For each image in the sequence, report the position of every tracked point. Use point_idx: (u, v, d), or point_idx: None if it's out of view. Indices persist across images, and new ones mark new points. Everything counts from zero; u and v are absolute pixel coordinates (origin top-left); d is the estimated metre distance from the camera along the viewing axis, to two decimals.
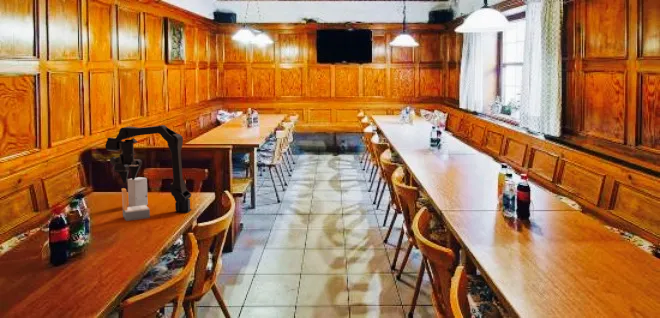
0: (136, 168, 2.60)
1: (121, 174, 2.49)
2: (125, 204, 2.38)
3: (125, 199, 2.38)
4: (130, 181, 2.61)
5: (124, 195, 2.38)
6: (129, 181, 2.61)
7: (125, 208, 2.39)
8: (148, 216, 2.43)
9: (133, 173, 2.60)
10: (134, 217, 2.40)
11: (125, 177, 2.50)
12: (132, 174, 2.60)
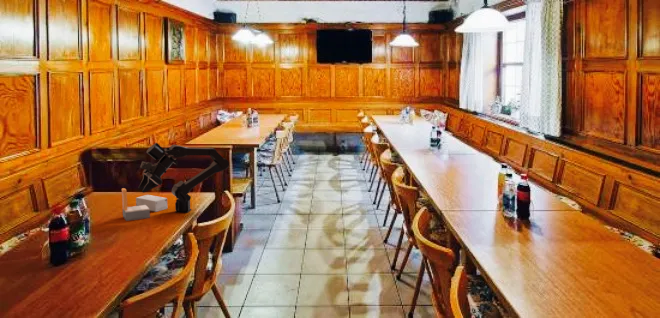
0: None
1: (148, 183, 2.39)
2: (125, 204, 2.38)
3: (125, 199, 2.38)
4: (153, 205, 2.54)
5: (124, 195, 2.38)
6: (153, 204, 2.54)
7: (125, 208, 2.39)
8: (148, 216, 2.43)
9: (143, 183, 2.48)
10: (134, 217, 2.40)
11: (149, 188, 2.40)
12: (142, 183, 2.48)
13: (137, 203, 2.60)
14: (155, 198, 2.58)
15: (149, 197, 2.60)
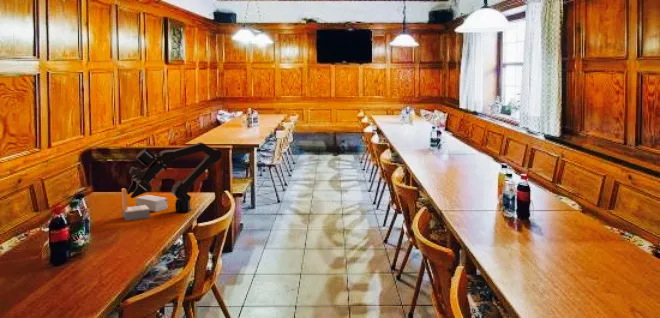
0: None
1: (137, 189, 2.37)
2: (125, 204, 2.38)
3: (125, 199, 2.38)
4: (153, 205, 2.54)
5: (124, 195, 2.38)
6: (153, 204, 2.54)
7: (125, 208, 2.39)
8: (148, 216, 2.43)
9: (132, 189, 2.45)
10: (134, 217, 2.40)
11: (138, 194, 2.37)
12: (130, 189, 2.45)
13: (137, 203, 2.60)
14: (155, 198, 2.58)
15: (149, 197, 2.60)
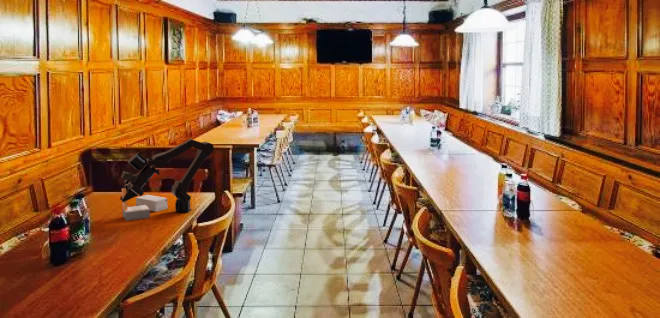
0: None
1: (128, 193, 2.37)
2: (125, 204, 2.38)
3: None
4: (153, 205, 2.54)
5: (124, 195, 2.38)
6: (153, 204, 2.54)
7: (125, 208, 2.39)
8: (148, 216, 2.43)
9: None
10: (134, 217, 2.40)
11: (129, 198, 2.38)
12: None
13: (137, 203, 2.60)
14: (155, 198, 2.58)
15: (149, 197, 2.60)
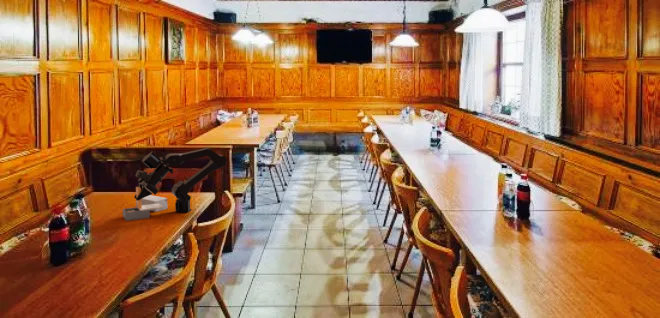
0: None
1: (143, 192, 2.40)
2: (139, 202, 2.42)
3: None
4: None
5: (138, 193, 2.41)
6: None
7: (139, 206, 2.42)
8: (148, 216, 2.43)
9: None
10: (134, 217, 2.40)
11: (143, 196, 2.41)
12: None
13: None
14: (155, 198, 2.58)
15: (149, 197, 2.60)
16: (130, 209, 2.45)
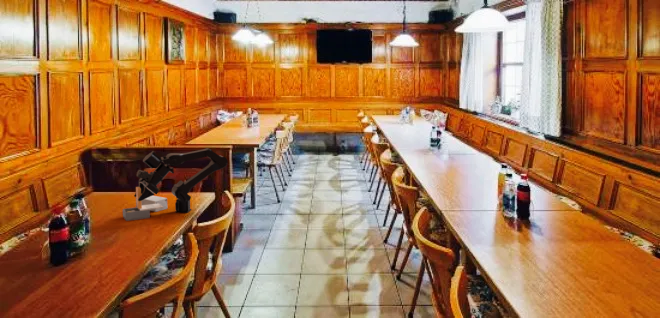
0: None
1: (145, 192, 2.39)
2: (139, 202, 2.42)
3: None
4: None
5: (138, 193, 2.41)
6: None
7: (139, 206, 2.42)
8: (148, 216, 2.43)
9: None
10: (134, 217, 2.40)
11: (145, 197, 2.39)
12: None
13: None
14: (155, 198, 2.58)
15: (149, 197, 2.60)
16: (130, 209, 2.45)
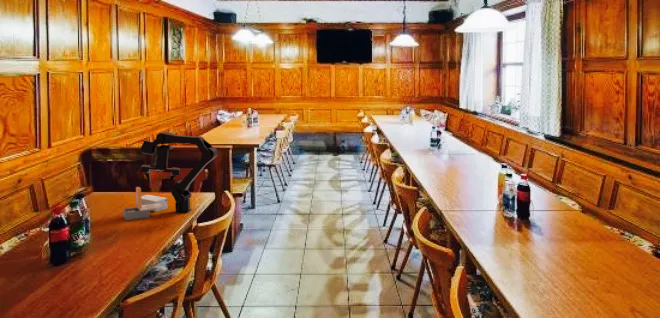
0: (170, 176, 2.54)
1: None
2: (139, 202, 2.42)
3: (139, 197, 2.42)
4: None
5: (138, 193, 2.41)
6: None
7: (139, 206, 2.42)
8: (148, 216, 2.43)
9: (169, 180, 2.56)
10: (134, 217, 2.40)
11: (147, 179, 2.52)
12: None
13: None
14: (155, 198, 2.58)
15: (149, 197, 2.60)
16: (130, 209, 2.45)
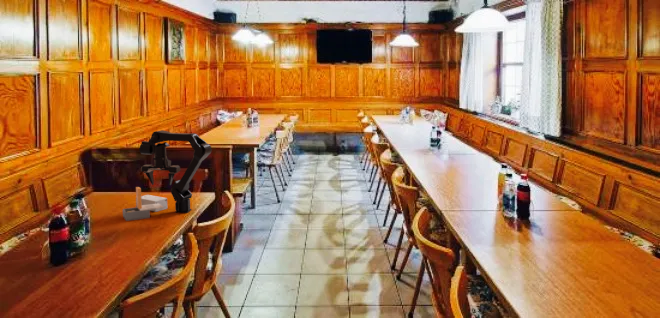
0: None
1: None
2: (139, 202, 2.42)
3: (139, 197, 2.42)
4: None
5: (138, 193, 2.41)
6: None
7: (139, 206, 2.42)
8: (148, 216, 2.43)
9: None
10: (134, 217, 2.40)
11: None
12: None
13: None
14: (155, 198, 2.58)
15: (149, 197, 2.60)
16: (130, 209, 2.45)
